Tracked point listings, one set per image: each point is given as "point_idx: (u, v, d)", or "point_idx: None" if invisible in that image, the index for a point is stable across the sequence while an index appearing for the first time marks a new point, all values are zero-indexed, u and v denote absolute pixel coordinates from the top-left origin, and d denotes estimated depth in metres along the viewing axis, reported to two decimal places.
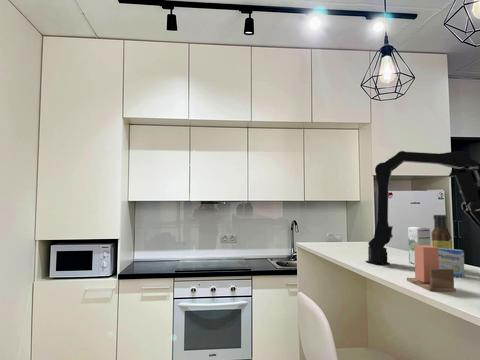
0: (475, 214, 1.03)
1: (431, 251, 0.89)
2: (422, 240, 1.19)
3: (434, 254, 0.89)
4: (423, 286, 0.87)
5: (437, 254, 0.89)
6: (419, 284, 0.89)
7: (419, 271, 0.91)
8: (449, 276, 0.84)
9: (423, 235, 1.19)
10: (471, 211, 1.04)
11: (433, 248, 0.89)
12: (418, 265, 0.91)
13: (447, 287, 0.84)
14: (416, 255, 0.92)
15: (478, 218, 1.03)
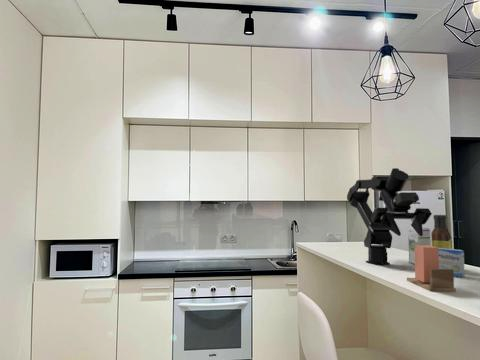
0: (385, 225, 1.05)
1: (431, 251, 0.89)
2: (422, 240, 1.19)
3: (434, 254, 0.89)
4: (423, 286, 0.87)
5: (437, 254, 0.89)
6: (419, 284, 0.89)
7: (419, 271, 0.91)
8: (449, 276, 0.84)
9: (423, 235, 1.19)
10: None
11: (433, 248, 0.89)
12: (418, 265, 0.91)
13: (447, 287, 0.84)
14: (416, 255, 0.92)
15: (389, 227, 1.04)
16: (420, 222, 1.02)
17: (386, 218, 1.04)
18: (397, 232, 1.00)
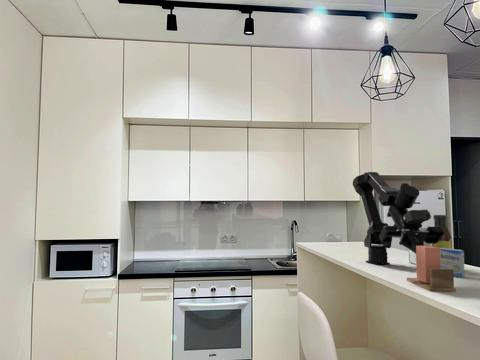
0: (405, 244, 0.98)
1: (433, 252, 0.88)
2: None
3: (436, 254, 0.88)
4: (423, 286, 0.87)
5: (439, 254, 0.88)
6: (419, 284, 0.89)
7: (420, 271, 0.90)
8: (449, 276, 0.84)
9: None
10: None
11: (435, 248, 0.88)
12: (420, 265, 0.90)
13: (447, 287, 0.84)
14: (418, 255, 0.92)
15: (409, 247, 0.97)
16: (422, 242, 0.95)
17: (406, 237, 0.97)
18: None
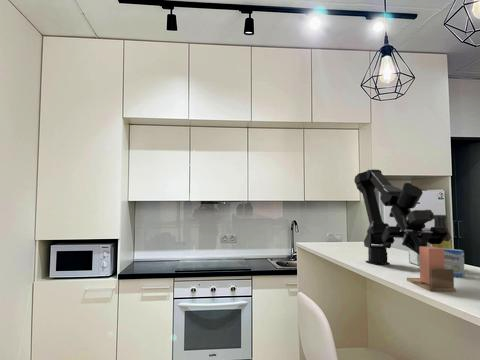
0: (408, 245, 0.97)
1: (437, 253, 0.87)
2: None
3: (440, 255, 0.87)
4: (423, 286, 0.87)
5: (443, 255, 0.87)
6: (419, 284, 0.89)
7: (424, 273, 0.88)
8: (449, 276, 0.84)
9: None
10: None
11: (439, 249, 0.87)
12: (423, 266, 0.89)
13: (447, 287, 0.84)
14: (421, 256, 0.90)
15: (412, 248, 0.95)
16: (425, 242, 0.94)
17: (409, 238, 0.96)
18: None
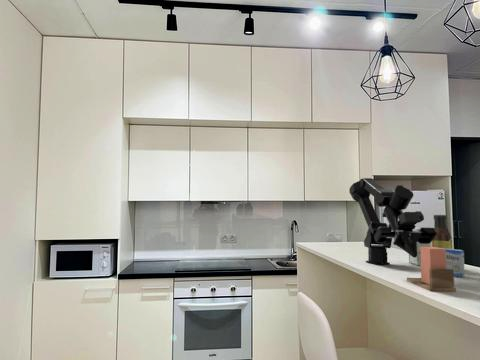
0: (399, 245, 1.02)
1: (438, 253, 0.86)
2: None
3: (441, 256, 0.86)
4: (423, 286, 0.87)
5: (444, 256, 0.86)
6: (419, 284, 0.89)
7: (425, 273, 0.88)
8: (449, 276, 0.84)
9: None
10: None
11: (440, 250, 0.86)
12: (425, 267, 0.88)
13: (447, 287, 0.84)
14: (422, 257, 0.89)
15: (403, 248, 1.01)
16: (415, 242, 0.99)
17: (400, 238, 1.01)
18: (411, 253, 0.97)
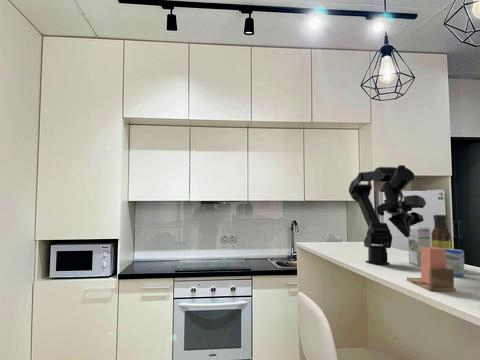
0: (393, 221, 1.06)
1: (438, 253, 0.86)
2: (422, 240, 1.19)
3: (441, 256, 0.86)
4: (423, 286, 0.87)
5: (444, 256, 0.86)
6: (419, 284, 0.89)
7: (425, 273, 0.88)
8: (449, 276, 0.84)
9: (423, 235, 1.19)
10: None
11: (440, 250, 0.86)
12: (425, 267, 0.88)
13: (447, 287, 0.84)
14: (422, 257, 0.89)
15: (397, 225, 1.05)
16: (409, 224, 1.04)
17: (399, 216, 1.04)
18: (405, 233, 1.02)
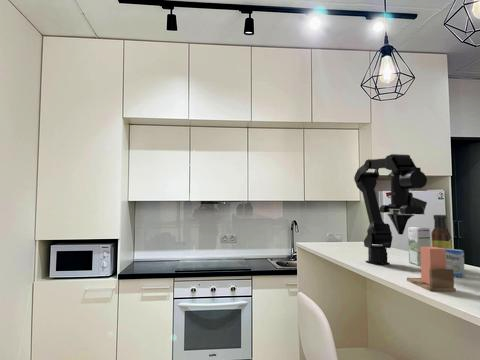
0: (398, 218, 1.05)
1: (438, 253, 0.86)
2: (422, 240, 1.19)
3: (441, 256, 0.86)
4: (423, 286, 0.87)
5: (444, 256, 0.86)
6: (419, 284, 0.89)
7: (425, 273, 0.88)
8: (449, 276, 0.84)
9: (423, 235, 1.19)
10: (395, 214, 1.06)
11: (440, 250, 0.86)
12: (425, 267, 0.88)
13: (447, 287, 0.84)
14: (422, 257, 0.89)
15: (398, 222, 1.06)
16: None
17: (406, 216, 1.05)
18: (402, 231, 1.07)
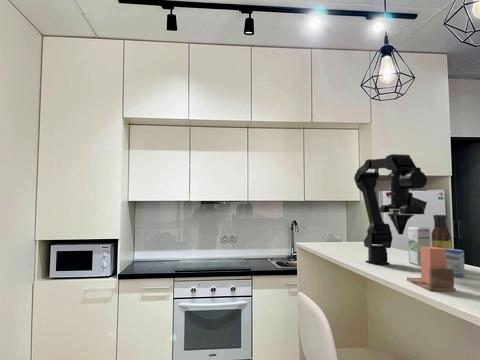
0: (398, 218, 1.05)
1: (438, 253, 0.86)
2: (422, 240, 1.19)
3: (441, 256, 0.86)
4: (423, 286, 0.87)
5: (444, 256, 0.86)
6: (419, 284, 0.89)
7: (425, 273, 0.88)
8: (449, 276, 0.84)
9: (423, 235, 1.19)
10: (395, 214, 1.06)
11: (440, 250, 0.86)
12: (425, 267, 0.88)
13: (447, 287, 0.84)
14: (422, 257, 0.89)
15: (398, 222, 1.06)
16: None
17: (406, 216, 1.05)
18: (402, 231, 1.07)
